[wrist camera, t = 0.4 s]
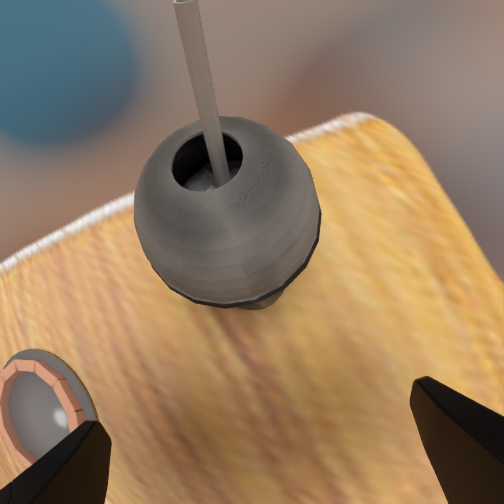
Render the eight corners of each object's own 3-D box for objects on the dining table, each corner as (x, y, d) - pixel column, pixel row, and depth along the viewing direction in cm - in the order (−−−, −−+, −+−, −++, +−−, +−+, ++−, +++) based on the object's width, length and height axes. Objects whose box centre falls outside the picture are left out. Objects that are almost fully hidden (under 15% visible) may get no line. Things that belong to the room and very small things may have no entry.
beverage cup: (191, 310, 23) (-49, 171, 4) (224, 221, 25) (119, -26, 6) (286, 342, 22) (312, 291, 3) (315, 247, 24) (377, -23, 5)
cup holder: (129, 454, 20) (119, 461, 18) (46, 496, 18) (35, 501, 17) (53, 323, 24) (40, 320, 22) (-14, 385, 22) (-25, 385, 20)
